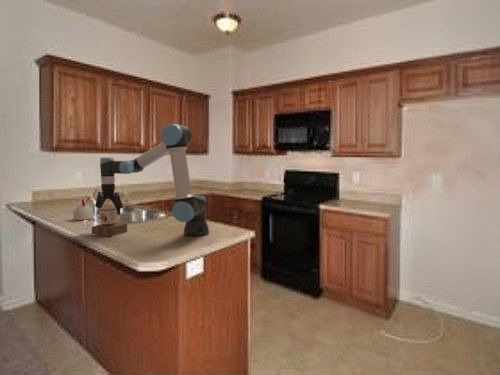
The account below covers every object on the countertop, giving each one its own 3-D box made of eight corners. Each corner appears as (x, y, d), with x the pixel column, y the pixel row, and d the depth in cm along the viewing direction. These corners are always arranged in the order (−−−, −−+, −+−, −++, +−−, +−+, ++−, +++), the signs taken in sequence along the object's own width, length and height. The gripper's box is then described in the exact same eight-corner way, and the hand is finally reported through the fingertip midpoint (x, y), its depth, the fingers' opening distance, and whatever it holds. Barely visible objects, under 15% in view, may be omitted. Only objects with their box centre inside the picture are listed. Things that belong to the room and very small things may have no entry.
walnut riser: (127, 231, 205) (127, 223, 204) (110, 237, 191) (110, 228, 191) (109, 230, 209) (108, 222, 209) (91, 235, 196) (91, 226, 196)
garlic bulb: (92, 217, 250) (91, 197, 248) (96, 220, 239) (95, 199, 237) (71, 219, 242) (70, 199, 240) (75, 222, 231) (74, 201, 229)
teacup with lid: (97, 223, 199) (96, 203, 198) (111, 220, 207) (110, 202, 206) (108, 225, 192) (107, 205, 191) (122, 223, 200) (121, 203, 199)
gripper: (87, 183, 198) (89, 219, 200) (119, 184, 190) (121, 221, 192) (96, 182, 205) (98, 216, 207) (128, 183, 197) (130, 219, 199)
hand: (109, 219), depth 199 cm, fingers closed on teacup with lid, 12 cm apart
